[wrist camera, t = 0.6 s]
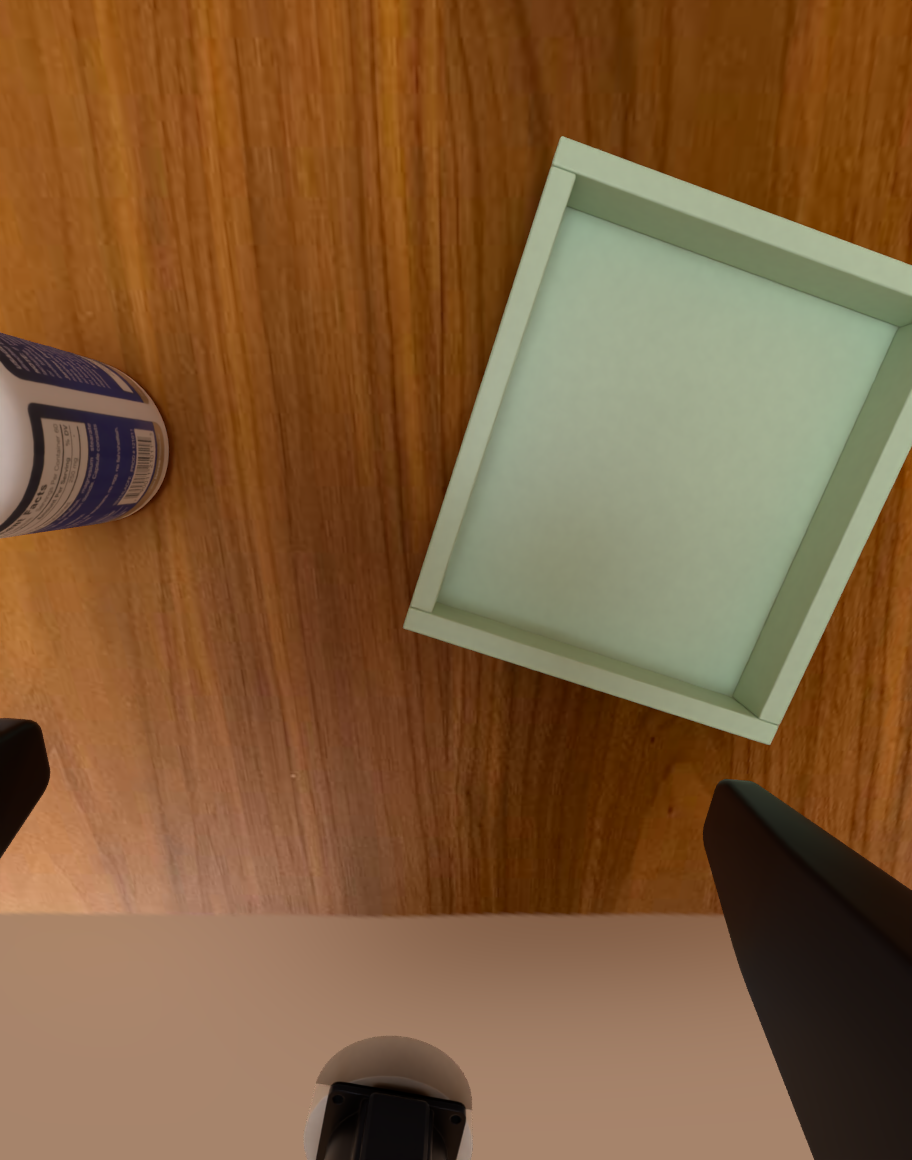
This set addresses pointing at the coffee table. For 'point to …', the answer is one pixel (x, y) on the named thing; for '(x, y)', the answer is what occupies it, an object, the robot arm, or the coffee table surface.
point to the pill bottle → (73, 441)
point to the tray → (672, 447)
